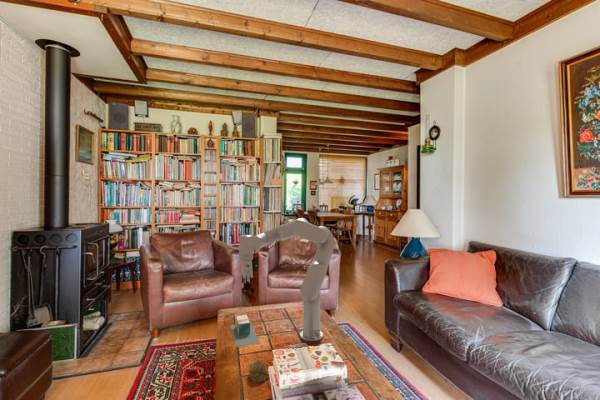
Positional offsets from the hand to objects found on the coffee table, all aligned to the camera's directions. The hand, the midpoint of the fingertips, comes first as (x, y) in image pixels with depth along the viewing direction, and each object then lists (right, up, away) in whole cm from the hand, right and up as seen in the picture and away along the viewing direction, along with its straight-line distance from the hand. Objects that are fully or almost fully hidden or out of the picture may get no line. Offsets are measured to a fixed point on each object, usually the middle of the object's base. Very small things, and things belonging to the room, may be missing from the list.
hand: (247, 289), depth 162 cm
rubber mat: (-1, -23, -4) cm, 24 cm away
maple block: (0, -20, -5) cm, 21 cm away
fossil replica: (+28, -24, -30) cm, 47 cm away
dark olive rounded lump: (+13, -24, -41) cm, 49 cm away
